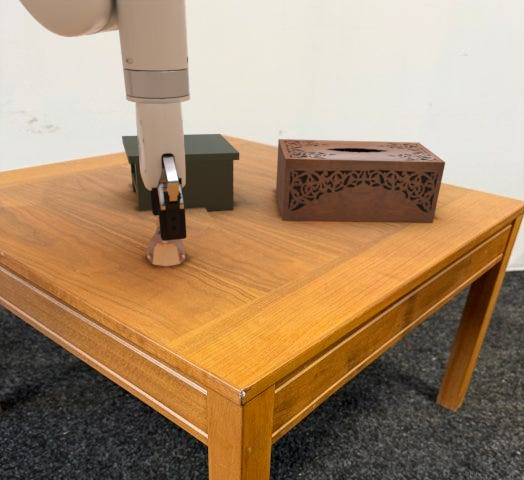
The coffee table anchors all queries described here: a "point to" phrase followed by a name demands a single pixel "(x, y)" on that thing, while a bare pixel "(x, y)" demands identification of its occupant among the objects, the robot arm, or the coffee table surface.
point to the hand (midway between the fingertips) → (168, 225)
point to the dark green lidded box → (194, 172)
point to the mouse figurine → (165, 249)
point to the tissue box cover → (357, 181)
